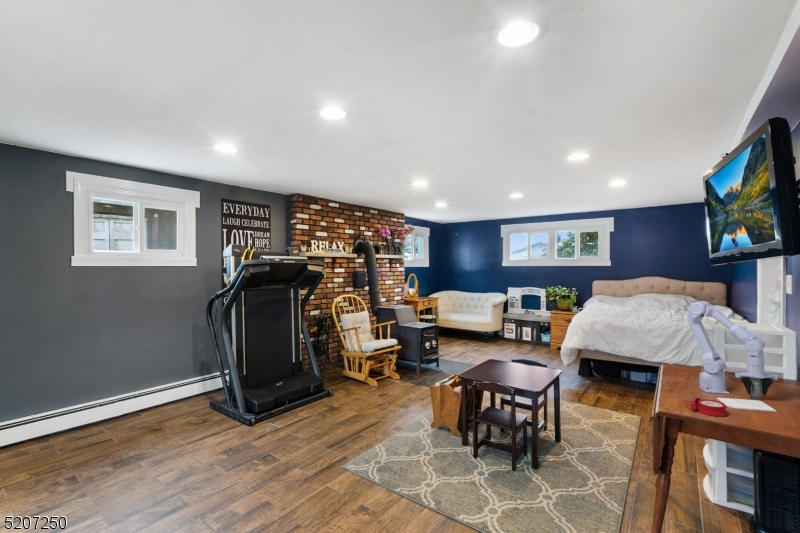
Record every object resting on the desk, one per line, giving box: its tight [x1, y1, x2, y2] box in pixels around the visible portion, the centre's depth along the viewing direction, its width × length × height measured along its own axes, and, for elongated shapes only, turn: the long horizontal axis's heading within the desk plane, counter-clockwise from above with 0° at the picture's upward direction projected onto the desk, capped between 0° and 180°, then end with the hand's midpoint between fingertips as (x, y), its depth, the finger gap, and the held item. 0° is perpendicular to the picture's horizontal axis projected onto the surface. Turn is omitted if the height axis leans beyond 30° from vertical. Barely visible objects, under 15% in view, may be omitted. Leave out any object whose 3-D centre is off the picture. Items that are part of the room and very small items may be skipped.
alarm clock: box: [684, 397, 730, 418], centre depth 160 cm, size 10×6×15 cm
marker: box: [751, 380, 762, 401], centre depth 171 cm, size 3×3×8 cm
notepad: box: [716, 397, 777, 413], centre depth 165 cm, size 16×12×1 cm
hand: (756, 394), depth 171 cm, fingers open, 5 cm apart
